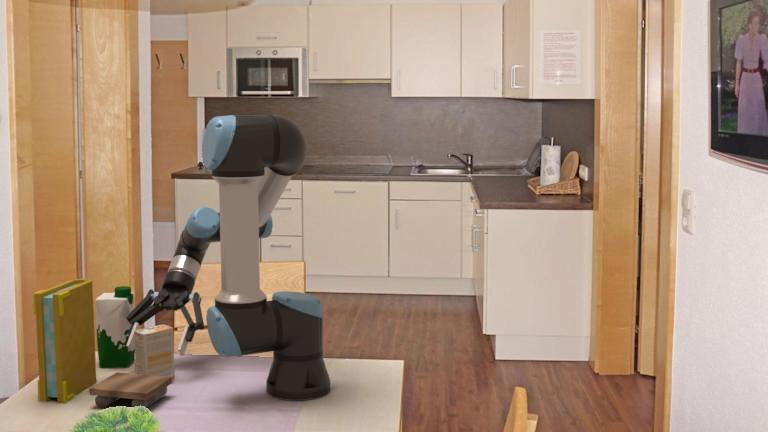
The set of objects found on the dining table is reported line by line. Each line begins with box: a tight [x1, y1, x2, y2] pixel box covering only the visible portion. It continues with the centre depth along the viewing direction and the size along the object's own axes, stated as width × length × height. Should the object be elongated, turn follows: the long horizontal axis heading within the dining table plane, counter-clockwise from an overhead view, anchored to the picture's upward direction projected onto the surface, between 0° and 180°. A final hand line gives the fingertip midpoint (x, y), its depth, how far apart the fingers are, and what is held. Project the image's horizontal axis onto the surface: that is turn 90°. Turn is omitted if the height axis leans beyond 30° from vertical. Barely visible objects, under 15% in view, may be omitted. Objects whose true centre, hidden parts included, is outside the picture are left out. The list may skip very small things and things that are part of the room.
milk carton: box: [94, 285, 135, 369], centre depth 237 cm, size 9×9×20 cm
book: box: [32, 278, 97, 404], centre depth 216 cm, size 17×7×25 cm, turn 168°
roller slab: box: [88, 372, 173, 409], centre depth 210 cm, size 14×12×4 cm
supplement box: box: [134, 324, 176, 380], centre depth 224 cm, size 8×5×13 cm, turn 135°
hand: (154, 350), depth 225 cm, fingers open, 13 cm apart
